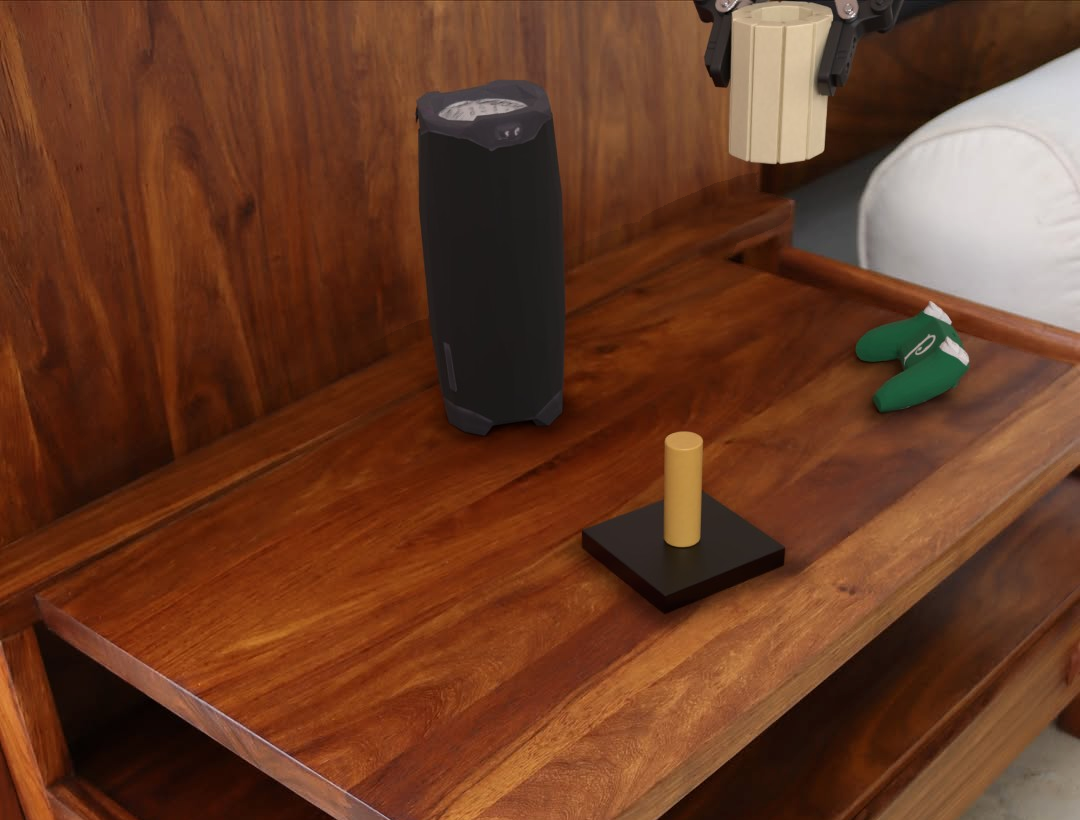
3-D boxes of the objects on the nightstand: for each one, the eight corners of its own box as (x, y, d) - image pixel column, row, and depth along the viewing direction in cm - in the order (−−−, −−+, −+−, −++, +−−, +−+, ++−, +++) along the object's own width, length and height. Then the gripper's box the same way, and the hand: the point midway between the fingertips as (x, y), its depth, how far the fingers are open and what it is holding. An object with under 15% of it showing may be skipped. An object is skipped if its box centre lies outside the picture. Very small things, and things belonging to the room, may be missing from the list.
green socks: (907, 442, 93) (985, 379, 90) (870, 404, 91) (947, 339, 89) (884, 378, 100) (955, 317, 97) (848, 342, 99) (919, 280, 96)
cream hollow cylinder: (782, 127, 97) (788, -5, 92) (843, 150, 92) (854, 13, 87) (709, 146, 94) (711, 12, 89) (768, 171, 90) (774, 32, 85)
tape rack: (696, 504, 85) (699, 391, 80) (784, 565, 79) (792, 447, 75) (581, 547, 82) (578, 432, 77) (664, 614, 76) (665, 494, 72)
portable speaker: (536, 368, 100) (522, 66, 87) (592, 426, 93) (586, 107, 81) (418, 395, 97) (387, 87, 85) (467, 455, 91) (441, 131, 78)
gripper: (714, -214, 89) (645, 43, 88) (951, -215, 84) (880, 58, 83) (739, -131, 96) (675, 108, 95) (959, -127, 91) (893, 126, 90)
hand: (771, 84), depth 89 cm, fingers closed on cream hollow cylinder, 6 cm apart
